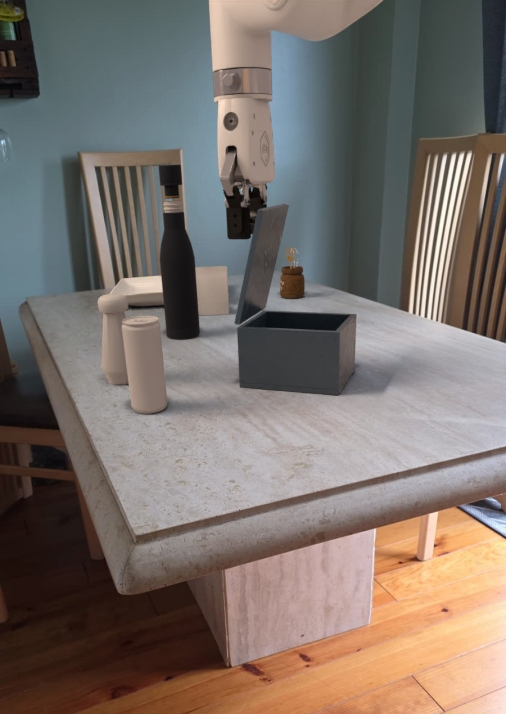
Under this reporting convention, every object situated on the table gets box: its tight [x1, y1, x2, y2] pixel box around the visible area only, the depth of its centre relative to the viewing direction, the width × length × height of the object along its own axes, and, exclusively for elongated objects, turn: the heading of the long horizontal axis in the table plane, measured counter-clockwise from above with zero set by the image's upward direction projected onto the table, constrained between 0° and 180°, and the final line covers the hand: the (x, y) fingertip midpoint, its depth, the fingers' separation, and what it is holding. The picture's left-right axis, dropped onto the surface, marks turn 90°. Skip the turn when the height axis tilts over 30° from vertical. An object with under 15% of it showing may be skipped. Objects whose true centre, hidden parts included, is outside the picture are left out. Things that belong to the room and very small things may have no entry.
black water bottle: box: [158, 164, 201, 340], centre depth 114 cm, size 6×6×30 cm
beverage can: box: [122, 315, 168, 415], centre depth 81 cm, size 5×5×12 cm
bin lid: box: [234, 203, 290, 326], centre depth 88 cm, size 15×12×5 cm
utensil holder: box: [279, 246, 306, 300], centre depth 150 cm, size 6×6×12 cm
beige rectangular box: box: [195, 265, 230, 316], centre depth 136 cm, size 4×7×10 cm, turn 90°
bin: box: [236, 309, 357, 396], centre depth 91 cm, size 15×12×9 cm
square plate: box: [109, 275, 164, 307], centre depth 156 cm, size 27×27×4 cm
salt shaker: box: [97, 293, 129, 386], centre depth 93 cm, size 6×6×13 cm
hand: (248, 235), depth 87 cm, fingers open, 6 cm apart
